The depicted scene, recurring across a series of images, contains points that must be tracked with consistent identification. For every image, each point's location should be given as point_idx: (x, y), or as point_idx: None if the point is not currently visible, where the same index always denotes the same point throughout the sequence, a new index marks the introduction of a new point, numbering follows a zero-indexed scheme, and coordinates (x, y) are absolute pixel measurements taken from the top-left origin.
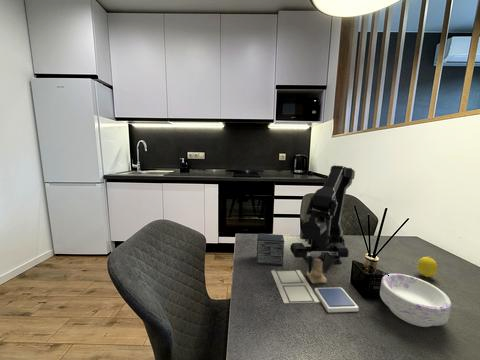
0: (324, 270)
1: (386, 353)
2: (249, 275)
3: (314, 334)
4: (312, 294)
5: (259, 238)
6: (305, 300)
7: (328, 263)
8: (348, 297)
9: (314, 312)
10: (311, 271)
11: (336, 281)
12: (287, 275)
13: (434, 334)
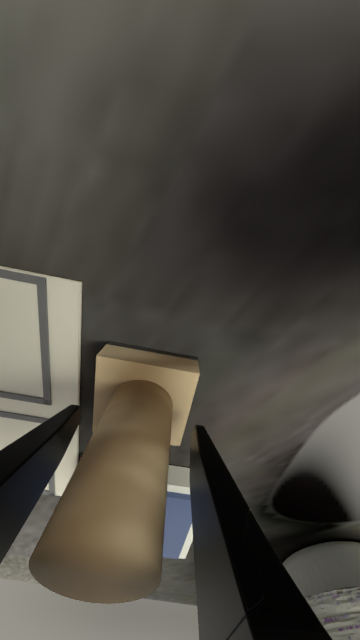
0: (192, 449)
1: (147, 596)
2: None
3: (8, 553)
4: (63, 468)
5: None
6: None
7: (201, 608)
8: (185, 537)
9: (37, 515)
10: (130, 364)
11: (246, 421)
12: None
13: None
